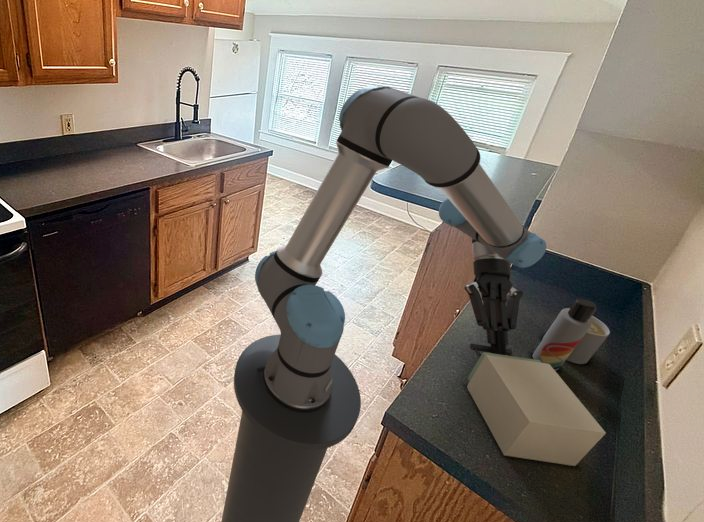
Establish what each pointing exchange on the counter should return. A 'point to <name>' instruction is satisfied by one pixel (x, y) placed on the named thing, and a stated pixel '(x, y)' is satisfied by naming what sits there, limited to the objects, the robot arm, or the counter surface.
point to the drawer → (488, 349)
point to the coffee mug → (588, 341)
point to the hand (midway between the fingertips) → (499, 359)
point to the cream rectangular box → (533, 411)
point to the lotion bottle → (565, 334)
